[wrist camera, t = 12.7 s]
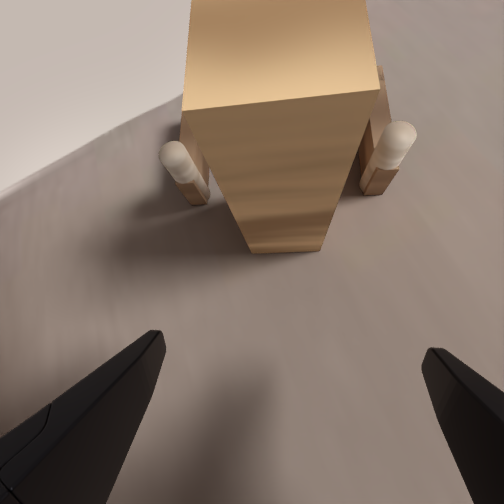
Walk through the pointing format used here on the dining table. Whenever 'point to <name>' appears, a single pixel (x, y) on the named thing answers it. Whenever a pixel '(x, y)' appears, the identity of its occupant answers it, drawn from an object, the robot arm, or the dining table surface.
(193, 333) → the dining table surface
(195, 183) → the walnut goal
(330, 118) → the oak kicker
